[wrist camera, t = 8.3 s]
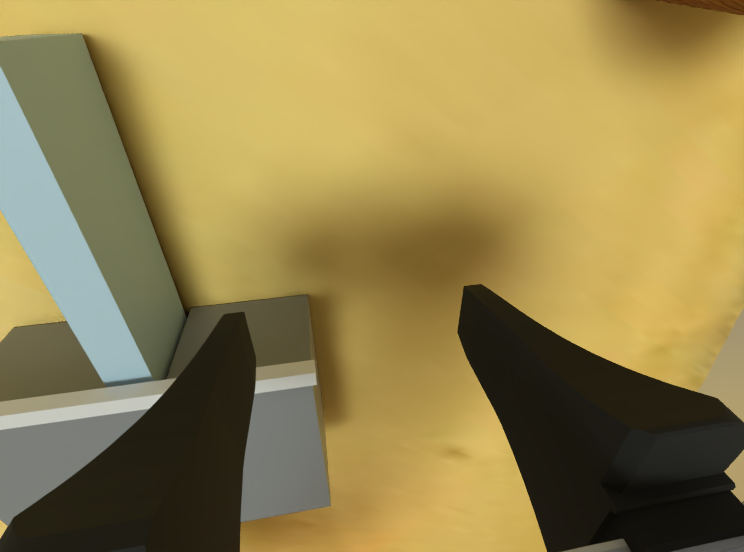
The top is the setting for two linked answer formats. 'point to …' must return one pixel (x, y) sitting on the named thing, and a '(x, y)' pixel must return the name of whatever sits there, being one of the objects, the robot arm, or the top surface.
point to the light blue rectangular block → (83, 209)
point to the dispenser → (130, 402)
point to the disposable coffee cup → (714, 5)
